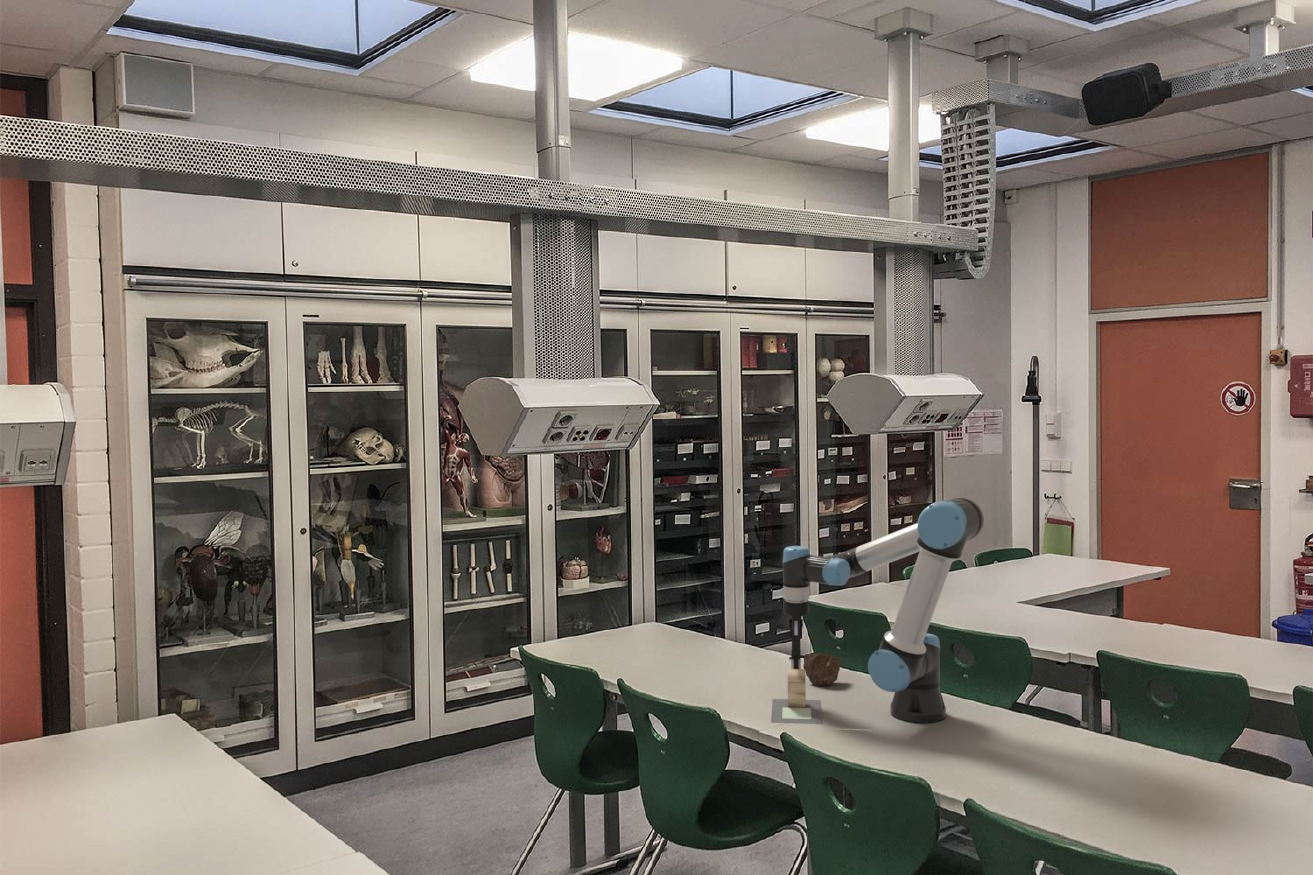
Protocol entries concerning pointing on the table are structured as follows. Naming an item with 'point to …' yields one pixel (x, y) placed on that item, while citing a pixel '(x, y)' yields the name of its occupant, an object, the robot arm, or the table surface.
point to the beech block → (796, 688)
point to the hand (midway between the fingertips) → (796, 680)
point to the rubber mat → (796, 712)
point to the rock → (821, 668)
